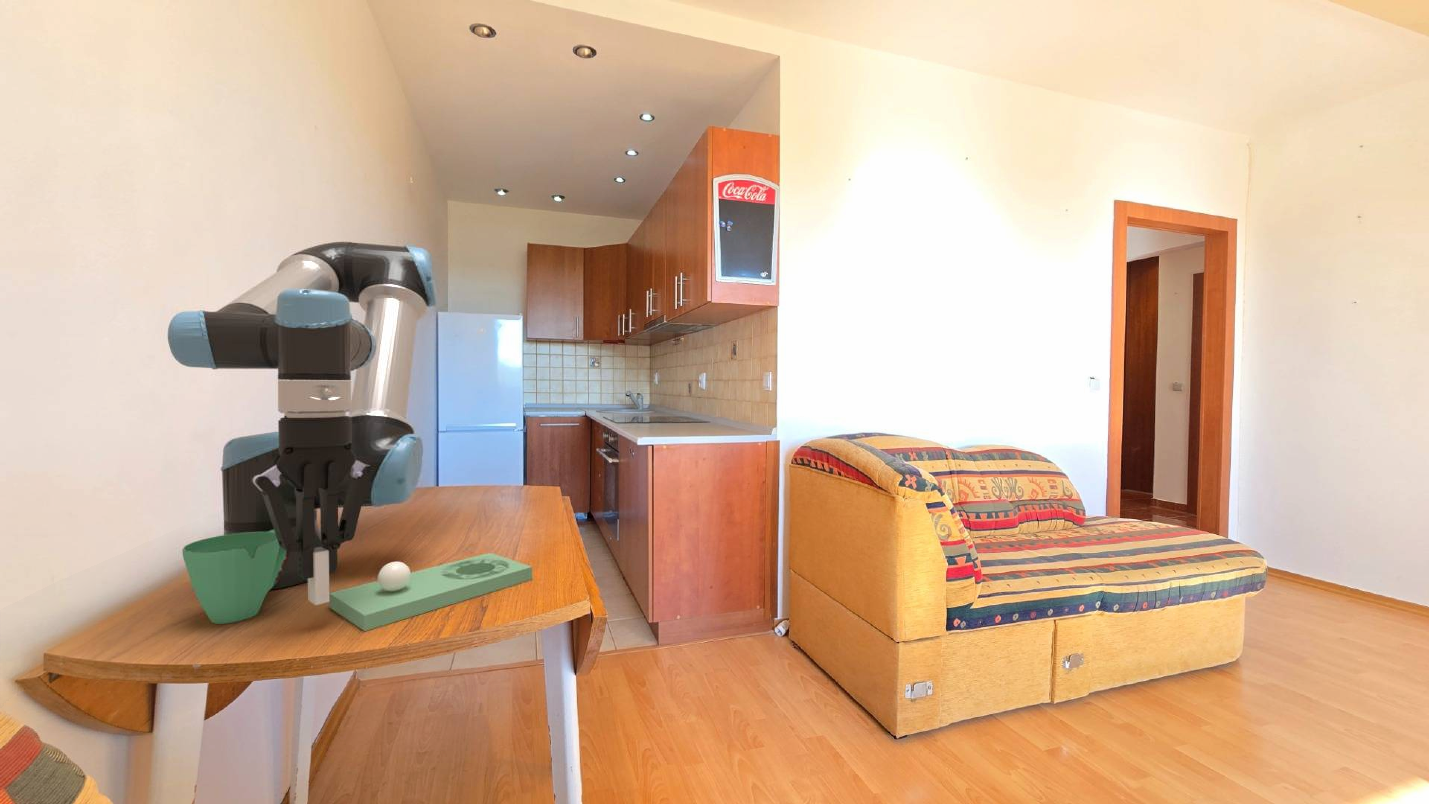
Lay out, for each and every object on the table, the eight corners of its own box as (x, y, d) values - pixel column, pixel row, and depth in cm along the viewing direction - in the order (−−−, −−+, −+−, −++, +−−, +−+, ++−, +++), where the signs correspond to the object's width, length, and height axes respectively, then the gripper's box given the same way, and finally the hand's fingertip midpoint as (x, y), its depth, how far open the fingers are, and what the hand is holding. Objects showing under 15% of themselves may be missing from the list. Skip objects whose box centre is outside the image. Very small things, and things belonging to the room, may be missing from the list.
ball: (372, 591, 78) (372, 562, 78) (403, 583, 81) (402, 556, 81) (385, 598, 76) (384, 568, 76) (415, 589, 79) (415, 561, 79)
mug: (248, 630, 70) (246, 551, 70) (162, 633, 69) (160, 553, 69) (318, 588, 85) (317, 522, 84) (248, 590, 84) (247, 523, 83)
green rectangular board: (364, 631, 70) (364, 615, 70) (329, 607, 77) (328, 593, 77) (532, 579, 89) (531, 566, 89) (490, 564, 96) (490, 552, 96)
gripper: (259, 418, 63) (263, 625, 64) (384, 414, 73) (386, 593, 74) (241, 415, 68) (245, 609, 68) (361, 412, 78) (363, 580, 79)
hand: (318, 600), depth 71 cm, fingers closed
